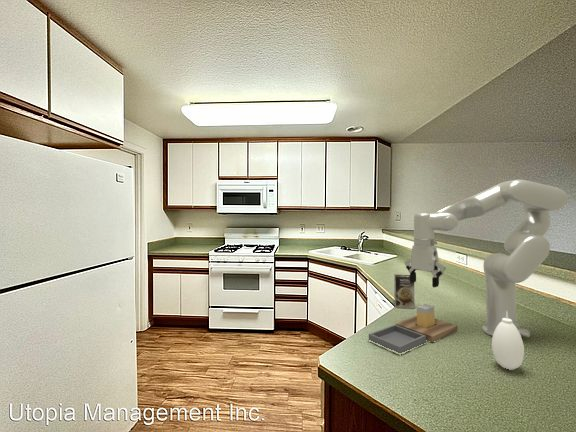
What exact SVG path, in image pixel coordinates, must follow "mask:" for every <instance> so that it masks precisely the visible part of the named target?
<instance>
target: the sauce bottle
mask: <svg viewBox="0 0 576 432" xmlns="http://www.w3.org/2000/svg"><path fill="white" fill-rule="evenodd" d="M512 322H513V321H512V320H511V319H509V318H508V312H507V311H506V318H502V321H501V322H500V323H499V324H498V326H497V327H496V329H495V331H494V334H493V336H492V337H491V338H492V339H491V350H492V354H493V358H494V359H495V361H496V363H497V364H499V365H500V366H501V367H502V368H503V369H505V368H506V369H505V370H507V369H509V370H508V371H513V370H515V369H517V368H519V367H520V366H521V365H522V364H523V361H524V356H525V345H524V341H523V339H522V337H521V335H520V333H519V331H518V329H517V328H516V326H515V325H514V324H513V323H512Z"/></svg>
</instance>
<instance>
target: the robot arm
mask: <svg viewBox="0 0 576 432" xmlns="http://www.w3.org/2000/svg"><path fill="white" fill-rule="evenodd" d="M568 200H569V198H568V195H567V193H566V191H564V190H563V189H561V188H559V187H556V186H553V185H548V184H544V183H540V182H535V181H531V180H527V179H526V180H525V179H512V180H507V181H502V182H500V183H498V184H495V185H494V186H491V187H489V188H487V189H485V190H483V191H481V192H479V193H476V194H474V195H472V196H469V197H467V198H465V199H462V200H461V201H460V200H459V201H458V202H455V203H453V204H450V205H448V206H446V207H444V208H442V209H440V210H437V211H436V212H434V213H430V212H417V213H415V214H413V215H414V216H413V245H412V248H411V252H410V258H409V259H408V260H407V259H406V260H405V261H404V265H405V267H406V270H408V274H409V275H410V282H411V283H412V282H414V283H416V282H417V273H416V271H423V272H428V273H430V274H431V275H432V276H433V277H431V278H432V279H431V282H432V283H431V284H432V288H437V287H439V284H440V277H441V276H442V275H444V272H445V271H446V269H447V268H446V266H445V265H443V264H441V263H440V261H439V255H438V254H439V253H438V248H437V246H435V245H437V244H438V241H437V240H435V231H441V232H442V231H443V232H449V231H452V230H454V229H455V228H456V227H457V226H458V222H460V221H463V220H466V219H471V218H472V219H473V218H477V217H481V216H484V215H485V216H486V215H487V214H489V213H491V212H494V211H495V210H498V209H500V208H502V207H504V206H506V205H509V204H511V203H520V204H521V207H522V209H523V217H522V220H521V221H520V223H519V224H518V225H517V226H516V227H515V229H514V230H513V231H512V232H511V233H510V234H509V235H508V237H506V239H505V241H504V242H503V247H504V250H505V251H506V252H507V253H508V254H506V253H500V252H498V253H497V252H495V253H490V254H489V255H487V256H486V257H485V259H484V261H483V266H482V267H483V272H484V276H485V278H484V279H485V289H486V291H485V292H486V293H485V294H486V296H485V297H486V324H484V325H482V331H483V333H485V334H487V335H489V336H492V337H493V334H494V331H495V329H496V327H497V326H498V324H499V323H500V322H501V321H502V318H506V311H507V312H508V318H509V319H511V320H512V321H513V322H512V323H513V324H514V325H515V326H516V328H517V329H518V331H519V333H520V335H521V338H522V337H527V338H530V336H531V332H530V331H529V329H526V328H523V327H522V328H521V327H520V323H517V287H516V284H519V283H522V282H525V281H526V280H527V279H529V278H530V277H531V276H532V274H533V273H534V272H535V271H536V270H537V269H538V268H539V267H541V266H540V265H541V264H542V263H543V262H544V261H545V260H546V258H547V257H548V256H549V254H550V251H551V244H550V241H549V240H548V239H547V237H545V235H546V234H547V232H548V230H549V229H550V227H551V216H550V212H554V211H559V210H561V209H562V208H564V207H565V206H566V205H567V203H568Z"/></svg>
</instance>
